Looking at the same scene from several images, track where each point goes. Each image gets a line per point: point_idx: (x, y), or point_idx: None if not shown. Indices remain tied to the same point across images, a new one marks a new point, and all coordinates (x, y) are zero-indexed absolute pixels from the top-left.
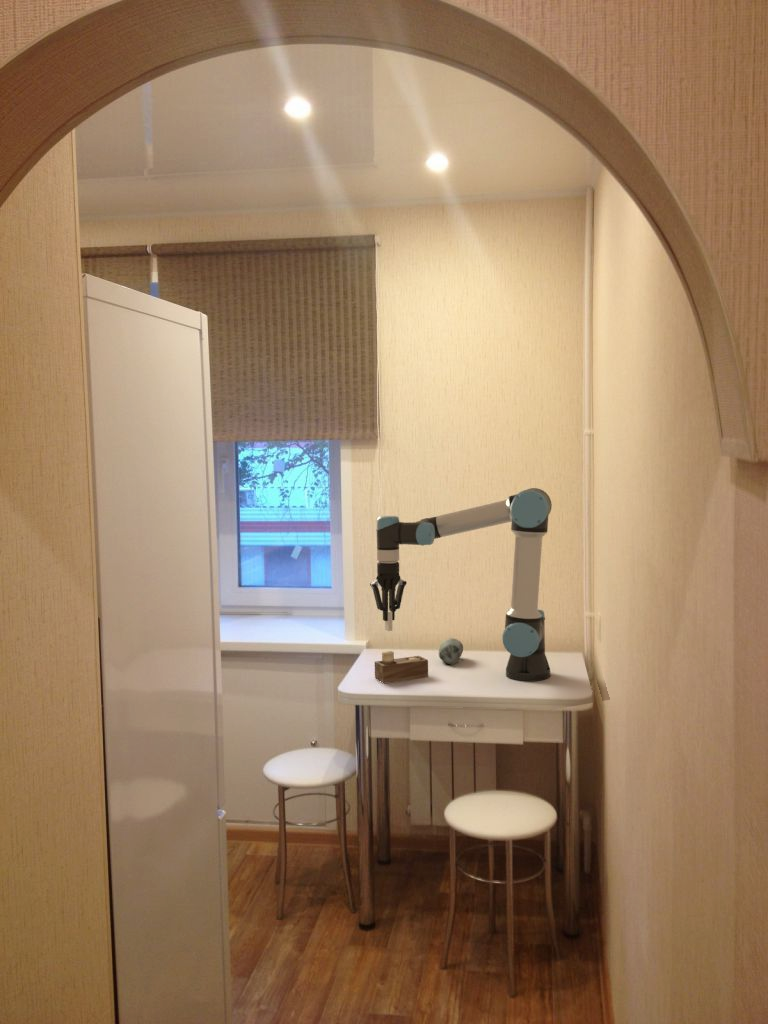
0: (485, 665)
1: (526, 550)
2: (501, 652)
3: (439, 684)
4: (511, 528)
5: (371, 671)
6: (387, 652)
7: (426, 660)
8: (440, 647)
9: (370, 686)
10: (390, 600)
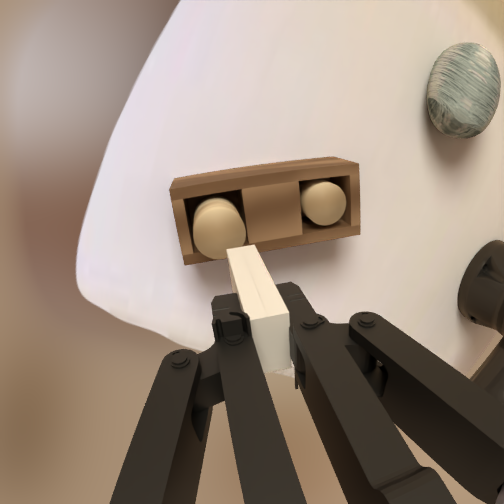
0: (481, 170)
1: None
2: None
3: (328, 296)
4: None
5: (190, 78)
6: (217, 236)
7: (354, 234)
8: (451, 87)
9: (142, 259)
10: (322, 419)
